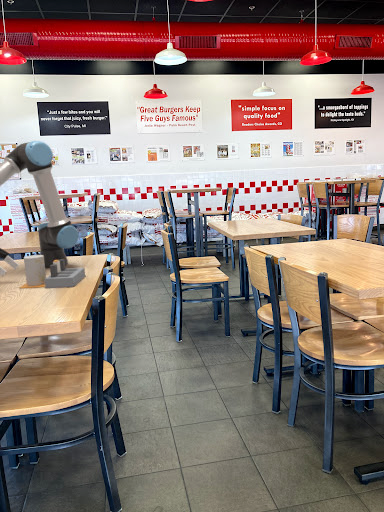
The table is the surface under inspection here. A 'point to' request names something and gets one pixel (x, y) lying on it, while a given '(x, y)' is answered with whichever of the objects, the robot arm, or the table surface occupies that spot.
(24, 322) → the table surface
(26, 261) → the white closed cylinder
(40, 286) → the pad
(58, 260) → the toggle
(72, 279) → the grey switch box
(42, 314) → the table surface
